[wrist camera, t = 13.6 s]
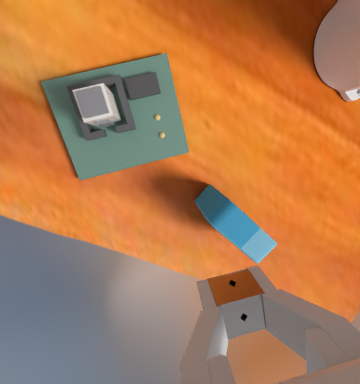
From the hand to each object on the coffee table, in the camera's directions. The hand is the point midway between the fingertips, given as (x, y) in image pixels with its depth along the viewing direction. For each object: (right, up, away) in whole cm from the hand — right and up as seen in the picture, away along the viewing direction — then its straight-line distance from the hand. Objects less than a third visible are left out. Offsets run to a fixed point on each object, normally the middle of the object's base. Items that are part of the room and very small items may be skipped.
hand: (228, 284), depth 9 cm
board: (-12, +17, +25) cm, 33 cm away
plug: (-15, +18, +23) cm, 33 cm away
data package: (+6, +1, +32) cm, 32 cm away
